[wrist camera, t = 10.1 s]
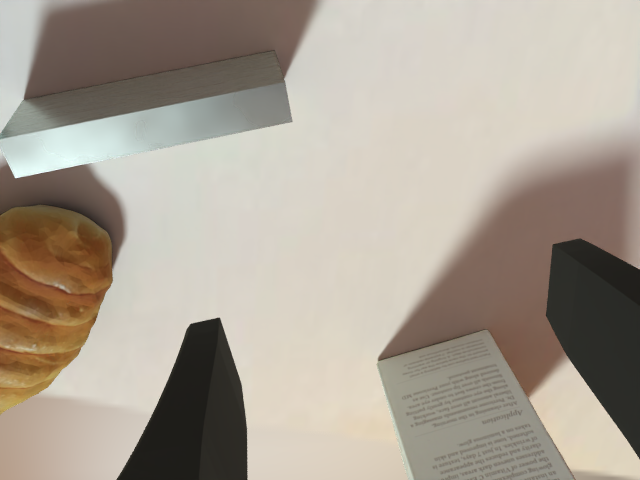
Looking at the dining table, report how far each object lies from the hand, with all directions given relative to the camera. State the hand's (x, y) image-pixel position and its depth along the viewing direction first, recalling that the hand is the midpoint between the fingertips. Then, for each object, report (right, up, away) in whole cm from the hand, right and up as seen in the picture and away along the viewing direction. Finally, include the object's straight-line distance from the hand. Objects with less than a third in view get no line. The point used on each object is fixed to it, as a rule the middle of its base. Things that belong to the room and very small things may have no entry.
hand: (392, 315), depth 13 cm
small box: (+4, -6, +17) cm, 19 cm away
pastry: (-14, 0, +10) cm, 17 cm away
